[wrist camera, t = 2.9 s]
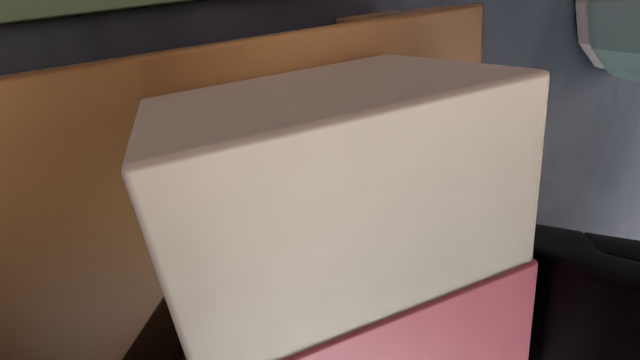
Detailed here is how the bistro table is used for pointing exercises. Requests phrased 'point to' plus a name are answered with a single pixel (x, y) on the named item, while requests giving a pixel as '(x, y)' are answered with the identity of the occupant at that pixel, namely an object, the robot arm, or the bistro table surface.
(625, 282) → the robot arm
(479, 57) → the shelf
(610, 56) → the disposable coffee cup
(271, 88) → the block
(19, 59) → the bistro table surface
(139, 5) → the mat
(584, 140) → the bistro table surface
